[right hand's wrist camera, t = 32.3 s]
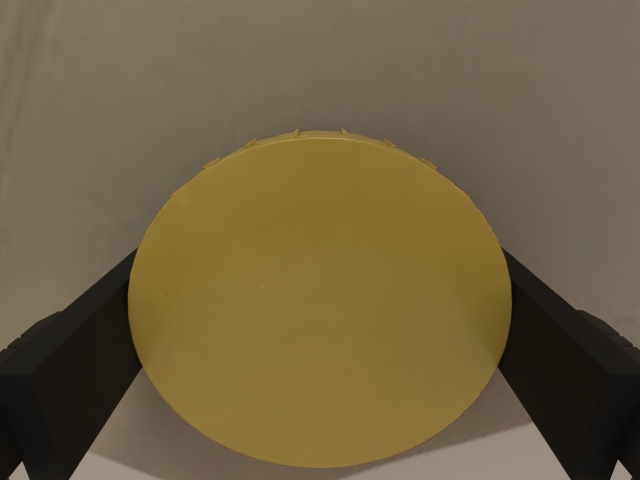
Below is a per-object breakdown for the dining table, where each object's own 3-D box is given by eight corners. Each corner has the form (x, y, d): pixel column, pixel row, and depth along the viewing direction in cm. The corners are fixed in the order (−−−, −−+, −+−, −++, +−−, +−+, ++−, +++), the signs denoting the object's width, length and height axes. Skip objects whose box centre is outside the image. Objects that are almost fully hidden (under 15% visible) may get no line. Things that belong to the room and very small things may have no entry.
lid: (141, 398, 13) (117, 440, 12) (166, 85, 10) (135, 83, 8) (425, 448, 14) (438, 492, 12) (545, 176, 10) (586, 191, 9)
